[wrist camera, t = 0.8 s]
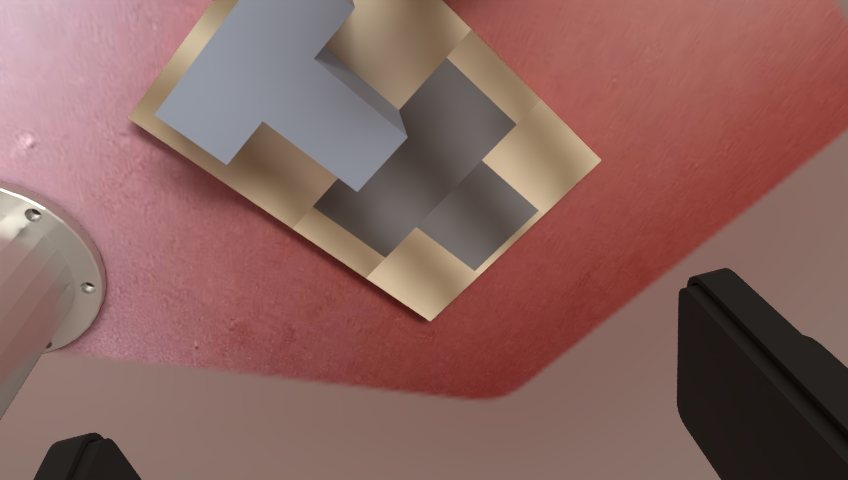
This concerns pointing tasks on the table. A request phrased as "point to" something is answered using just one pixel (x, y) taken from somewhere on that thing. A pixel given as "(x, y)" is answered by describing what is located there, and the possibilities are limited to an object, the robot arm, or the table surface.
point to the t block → (285, 90)
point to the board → (406, 154)
